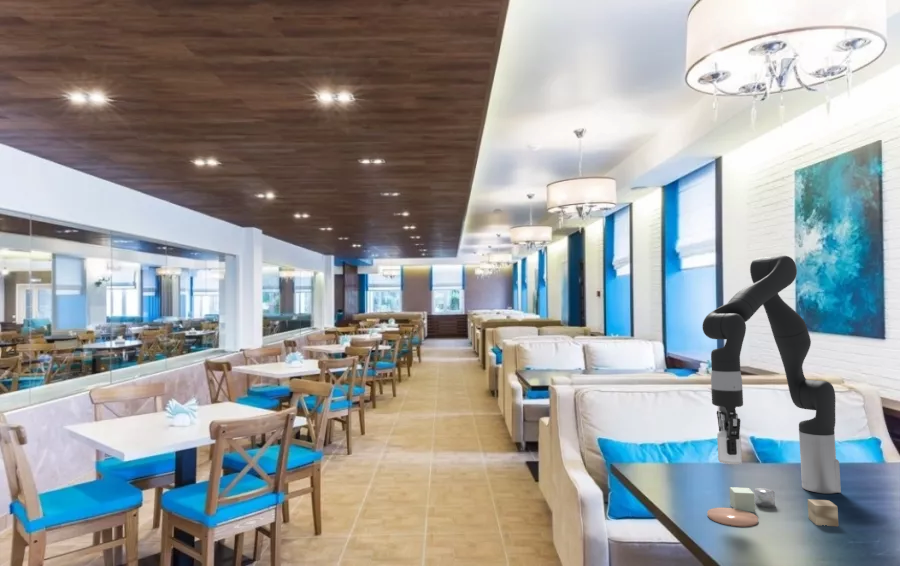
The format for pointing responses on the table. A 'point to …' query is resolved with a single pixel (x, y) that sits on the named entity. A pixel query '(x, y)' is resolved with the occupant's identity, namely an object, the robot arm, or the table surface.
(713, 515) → the salmon disc
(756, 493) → the steel puck
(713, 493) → the table surface
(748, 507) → the sage block
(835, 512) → the oak block
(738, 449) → the eye dropper bottle
